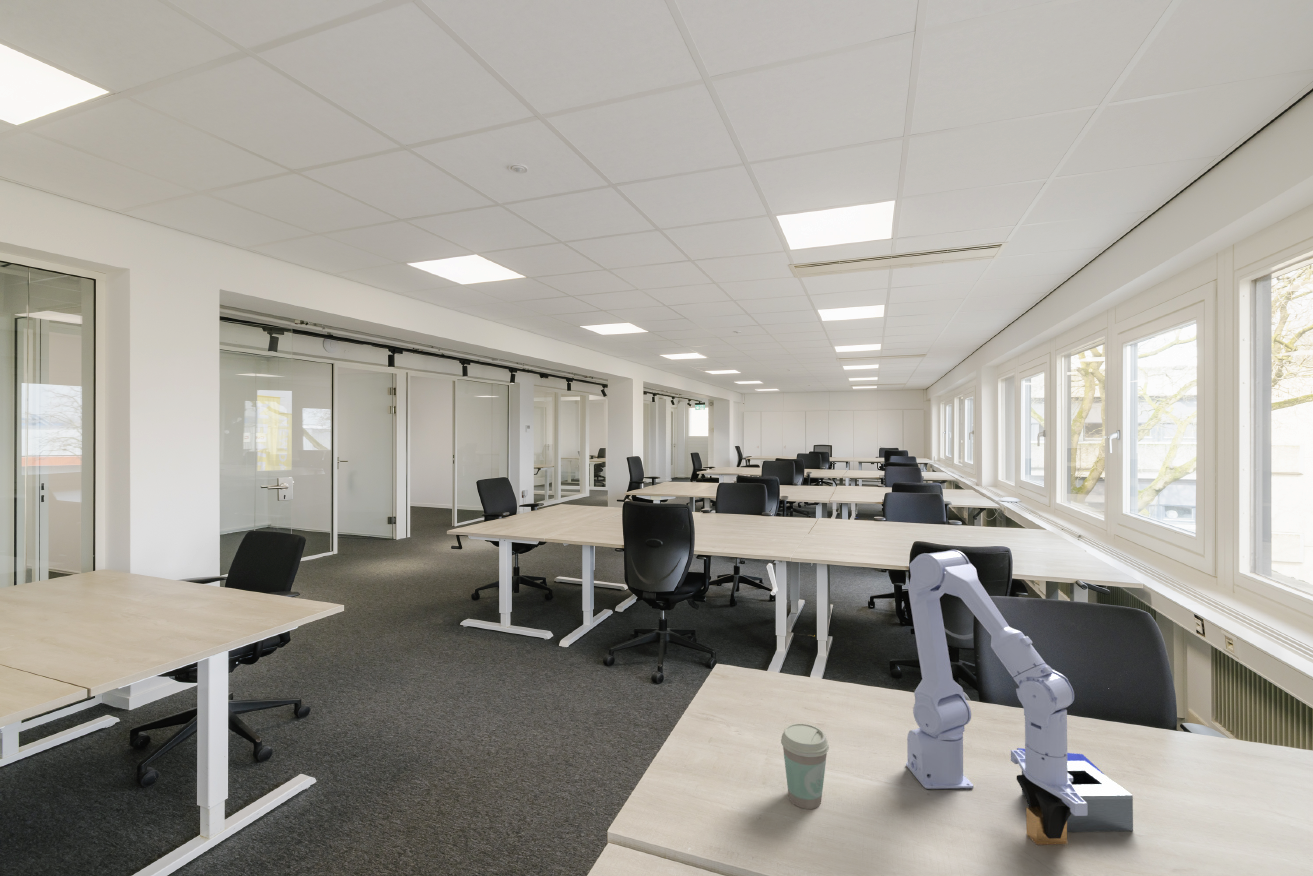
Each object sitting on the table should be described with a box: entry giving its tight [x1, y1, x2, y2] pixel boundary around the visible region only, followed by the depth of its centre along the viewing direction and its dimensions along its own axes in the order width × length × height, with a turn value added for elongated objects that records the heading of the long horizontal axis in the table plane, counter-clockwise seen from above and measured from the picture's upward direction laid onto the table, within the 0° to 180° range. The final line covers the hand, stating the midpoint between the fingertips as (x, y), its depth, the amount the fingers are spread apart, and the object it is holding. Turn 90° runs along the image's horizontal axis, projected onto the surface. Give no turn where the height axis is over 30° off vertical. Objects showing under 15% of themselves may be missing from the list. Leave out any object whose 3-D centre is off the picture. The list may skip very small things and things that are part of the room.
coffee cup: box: [780, 722, 830, 810], centre depth 100 cm, size 8×8×12 cm
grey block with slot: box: [1021, 761, 1134, 833], centre depth 96 cm, size 12×10×6 cm
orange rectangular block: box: [1025, 806, 1068, 846], centre depth 90 cm, size 5×2×4 cm, turn 91°
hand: (1046, 830), depth 90 cm, fingers closed on orange rectangular block, 2 cm apart
